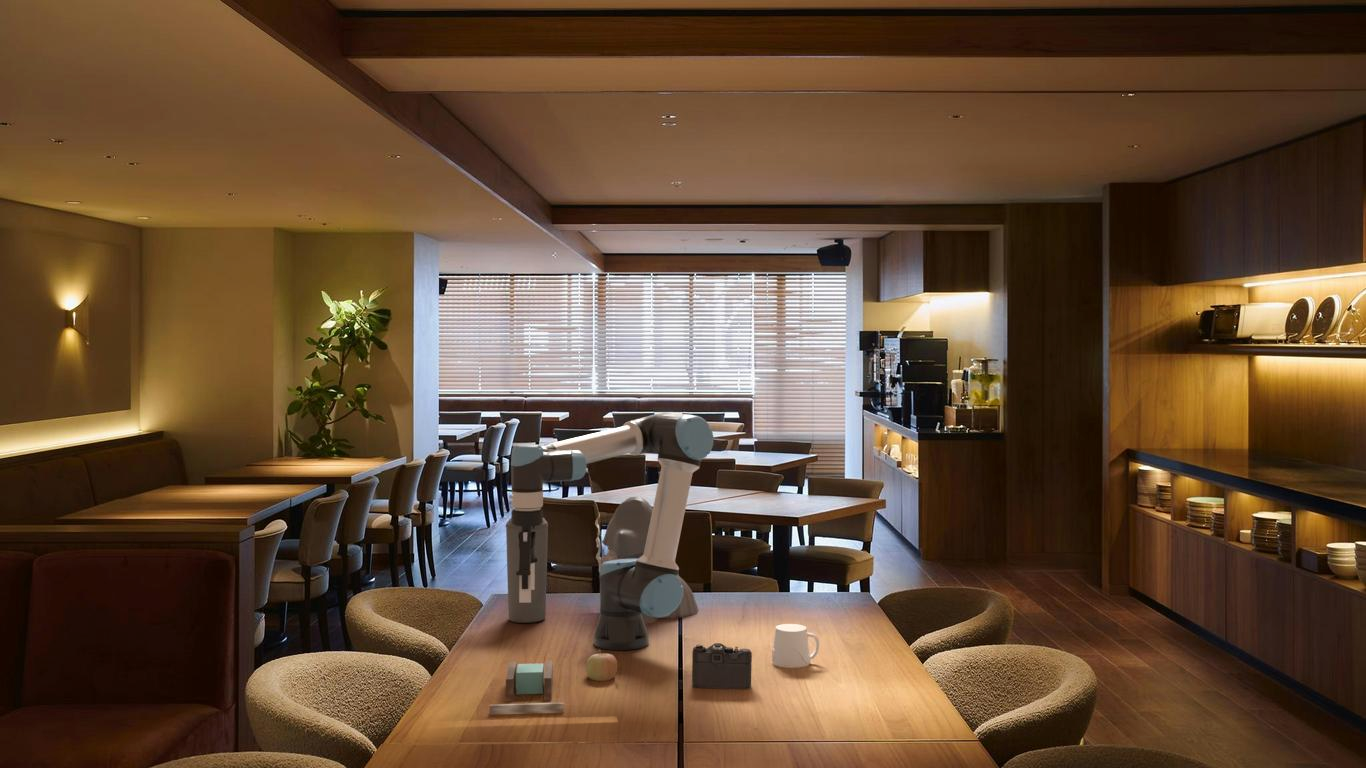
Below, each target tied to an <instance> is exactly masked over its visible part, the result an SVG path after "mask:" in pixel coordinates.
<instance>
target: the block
mask: <svg viewBox="0 0 1366 768" xmlns="http://www.w3.org/2000/svg"><path fill="white" fill-rule="evenodd" d="M544 666H545V665H544V663H543V662H541V663H517V672H516V688H515V694H516V695H535V694H536V695H537V694H538V695H539V694H543V695H544V676H545V667H544Z"/></svg>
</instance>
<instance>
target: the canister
mask: <svg viewBox="0 0 1366 768" xmlns="http://www.w3.org/2000/svg"><path fill="white" fill-rule="evenodd" d="M548 527H549V523H548V521H547V520H546V519H545V517H543V523H542V524H541V525H539V526H534V532H536V538H535V545H534V551H535V558H537V563H535V590H531V602H526V603H519V575H516V572H519V559H520V550H519V538H518V535H519V532H522V527H521V526H514V525H512V523H511V518H509V519H508V521H507V522H506V524H505V531H506V532H505V534H506V536H505V537H506V538H505V539H506V571H507V573H506V574H507V575H506V576H507V603H508V605H507V608H508V620H509V621H511V622H513V623H518V624H530V623H532V624H533V623H538V622H541V621H544V620H545V619H546V613H547V611H546V609H547V607H546V606H547V579H548V578H547V575H548V574H547V573H548V535H549V534H548V533H549V532H548V529H549V528H548Z"/></svg>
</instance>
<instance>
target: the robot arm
mask: <svg viewBox="0 0 1366 768" xmlns="http://www.w3.org/2000/svg"><path fill="white" fill-rule="evenodd" d="M713 447H714V433H713V430H712V427H710V423H709V422H708V421H707V420H706V419H704V418H703V417H701V416H699V415H693V414H688V413H685V414H684V413H669V412H661V413H655V414H652V415H647V416H644V417H639V418H635V419H631V420H629V421H626V422H625V423H623V425H622V426H619V427H615V428H610V429H607V430H602V431H598V432H593V433H589V434H585V435H581V436H576V437H573V438H572V437H571V438H568V439H564V440H560V441H553V442H551V443H547V444H542V445H541V444H537V443H536V444H534V443H533V444H532V443H529V444H527V443H526V444H525V443H523V444H522V443H521V444H515V445H514V446H513V447H512V449H511V456H510V457H511V459H510V460H511V461H510V466H511V469H510V470H511V473H510V474H511V476H510V478H511V494H509V495H508V499H510V500H511V507H512V508H513V509H512V510H511V512H510V513H511V523H512V525H514V526H521V527H522V532H519V535H518V538H519V550H520V559H519V572H516V575H519V603H526V602H531V590H535V563H537V558H535V551H534V545H535V538H536V532H534V526H539V525H541V524H542V523H543V518H544V517H543V516H544V513H543V512H544V511H543V509H542V507H543V506H544V487H543V486H544V484H545V483H553V482H572V481H575V480H576V481H578V480H580V479H582V478H584V476H585V474H586V472H587V464H592V463H596V462H600V461H604V460H607V459H611V458H614V457H615V458H616V457H620V456H624V455H628V454H630V455H631V456H639V455H647V454H648V455H649V454H652V455H657V461H658V463H659V464H660V467H661V468H660V473H659V478H658V482H657V487H656V490H655V491H656V492H655V498H654V502H653V506H652V508H653V511H652V516H651V520H650V525H649V530H648V535H647V540H646V545H645V549H644V554H643V555H642V556H641V557H640V558H638V559H619V560H611V561H606V562H604V563H603V562H602V565H601V568H600V573H599V575H598V577H599V618H598V622H597V624H596V627H595V630H594V634H593V645H594V647H597V648H599V649H604V650H608V651H631V650H637V649H641V648H645V647H646V646H648V645H649V642H650V640H649V636H650V635H649V632H648V629H647V625H646V624H645V622H644V619H643V615H642V613H643V614H645V615H647V616H652V617H659V618H661V617H665V616H668V615H670V614H671V613H672V612H673V611H675V610H676V609H677V607H678V606H679V604H680V603H681V600H682V597H683V585H682V584H681V581H680V579H679V578H678V575H679V572H680V571H679V570H680V567H679V566H678V564H677V563H676V557H677V552H678V548H679V543H680V539H681V538H680V537H681V532H682V528H683V527H682V526H683V523H684V518H685V517H684V516H685V513H686V507H687V503H688V497H689V494H690V488H691V483H692V479H693V478H692V477H693V473H694V472H696V471H698V470H700V466H701V463H702V460H703V459H705V458H707V456H708V455H710V453H711V452H712V449H713Z"/></svg>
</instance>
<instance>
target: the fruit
mask: <svg viewBox="0 0 1366 768" xmlns="http://www.w3.org/2000/svg"><path fill="white" fill-rule="evenodd" d="M598 651H599V652H600V653H595V654H592V655H590V657H588V659H587V661H586V664H585V671H586V674H587V677H588V678H589V679H590V680H592V681H595V682H597V681H599V682H604V681H610V680H613V679H614V678H615V676H616V674H617V672H618V661H617V658H616V657H615V656H614V654H611V653H602V651H601V648H599V649H598Z"/></svg>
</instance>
